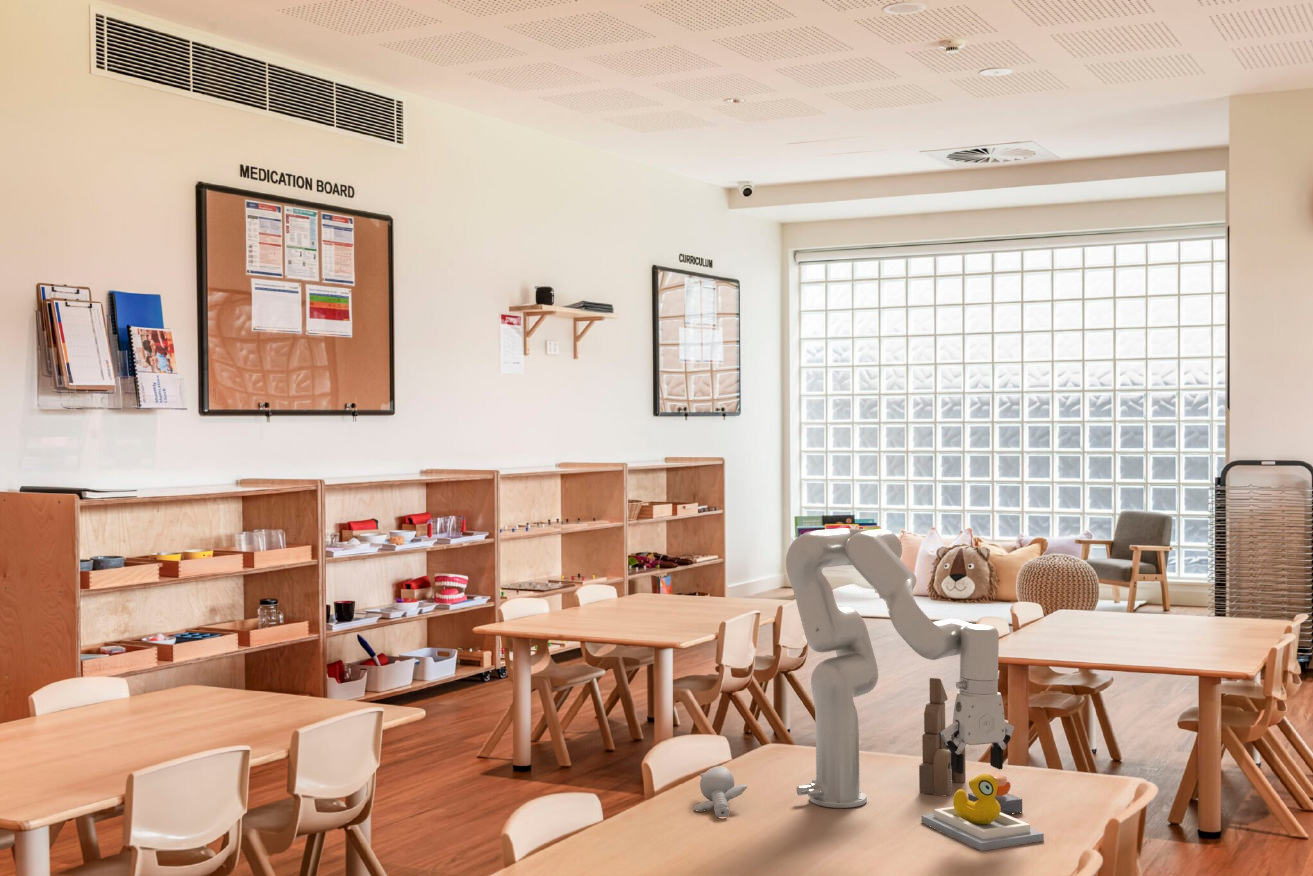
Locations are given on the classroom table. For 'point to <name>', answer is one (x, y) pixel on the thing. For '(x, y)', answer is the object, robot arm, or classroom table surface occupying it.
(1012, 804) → the button base
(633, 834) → the classroom table surface
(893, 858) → the classroom table surface
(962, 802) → the duckling
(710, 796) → the toy creature
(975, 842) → the tray
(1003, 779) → the button
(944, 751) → the wooden toy
